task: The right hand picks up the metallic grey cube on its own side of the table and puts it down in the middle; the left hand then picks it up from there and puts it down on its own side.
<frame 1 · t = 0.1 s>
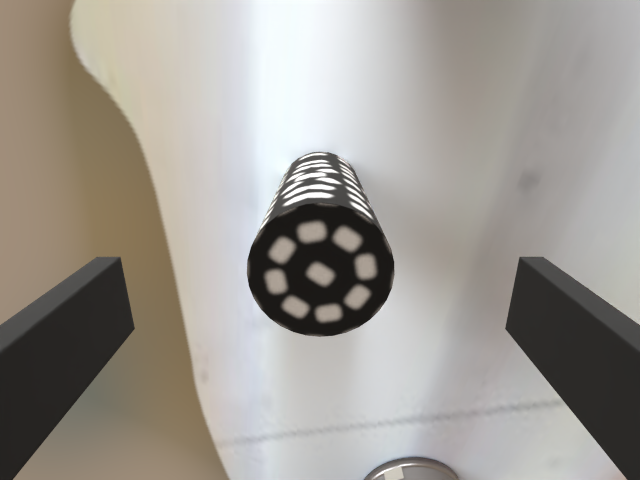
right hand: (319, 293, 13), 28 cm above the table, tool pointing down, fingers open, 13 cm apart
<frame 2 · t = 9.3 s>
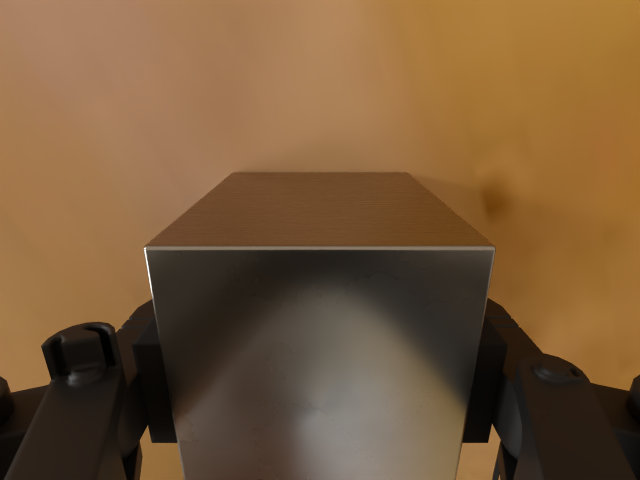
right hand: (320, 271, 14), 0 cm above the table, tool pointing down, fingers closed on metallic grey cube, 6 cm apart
metallic grey cube: (319, 266, 15), on the table, touching right hand
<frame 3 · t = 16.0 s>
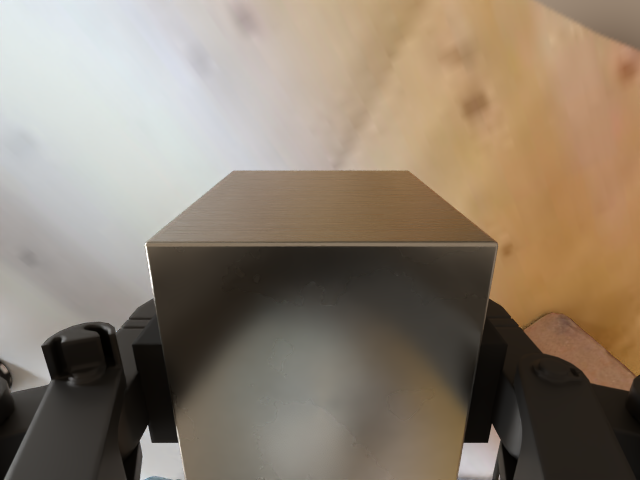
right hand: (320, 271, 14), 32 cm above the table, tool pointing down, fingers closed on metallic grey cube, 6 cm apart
stone: (558, 369, 56), on the table
metallic grey cube: (320, 264, 15), point 32 cm above the table, touching right hand
when the right hand's fingers open (2 cm above the table, at t = 22.9 s): metallic grey cube drops 2 cm, on the table.
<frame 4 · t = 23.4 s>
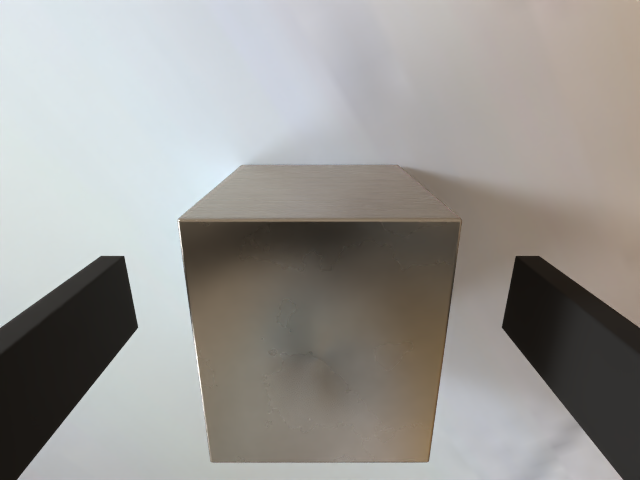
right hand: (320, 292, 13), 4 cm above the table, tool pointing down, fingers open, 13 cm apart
metallic grey cube: (319, 250, 16), on the table
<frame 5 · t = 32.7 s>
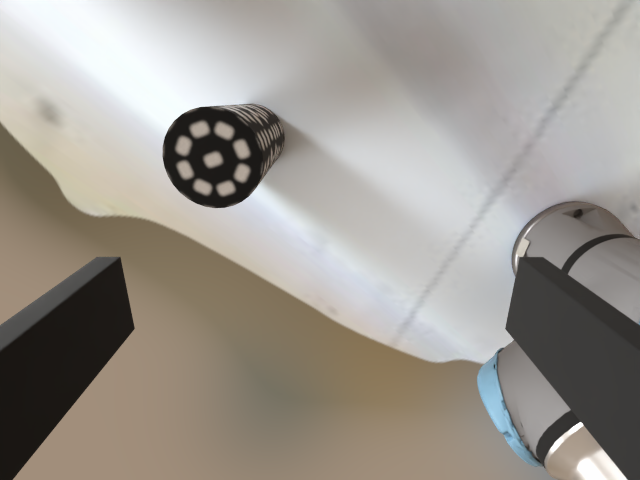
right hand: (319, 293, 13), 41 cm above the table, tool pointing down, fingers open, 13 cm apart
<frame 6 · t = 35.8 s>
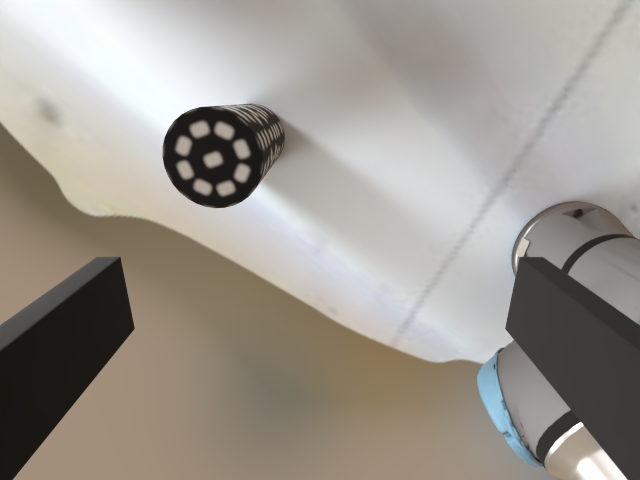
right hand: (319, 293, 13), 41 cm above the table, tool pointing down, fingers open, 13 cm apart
when the left hand's fingers open (2 cm above the table, at t = 39.1 s): metallic grey cube drops 2 cm, on the table.
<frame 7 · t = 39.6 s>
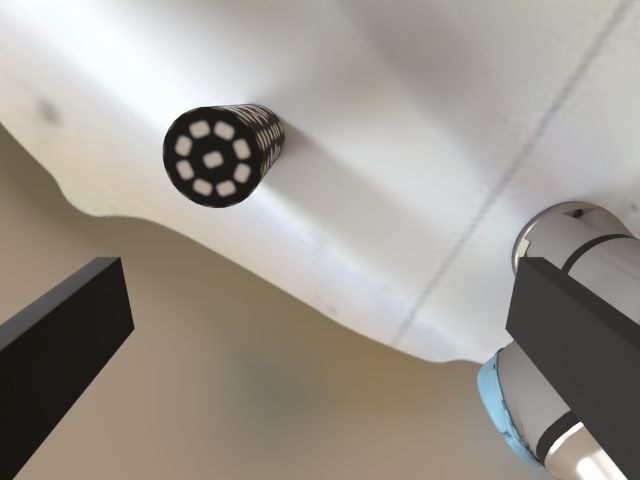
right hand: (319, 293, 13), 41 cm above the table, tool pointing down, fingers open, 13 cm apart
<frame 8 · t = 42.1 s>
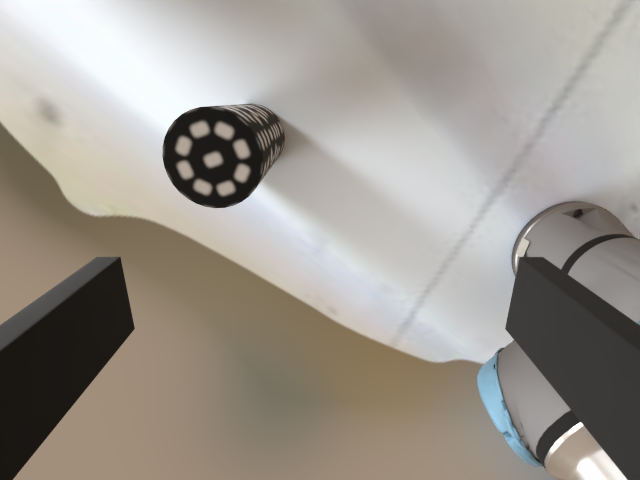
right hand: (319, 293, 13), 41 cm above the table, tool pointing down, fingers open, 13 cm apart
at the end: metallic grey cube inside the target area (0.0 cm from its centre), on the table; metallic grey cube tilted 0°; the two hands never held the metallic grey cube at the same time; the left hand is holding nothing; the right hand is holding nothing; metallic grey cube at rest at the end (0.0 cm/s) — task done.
